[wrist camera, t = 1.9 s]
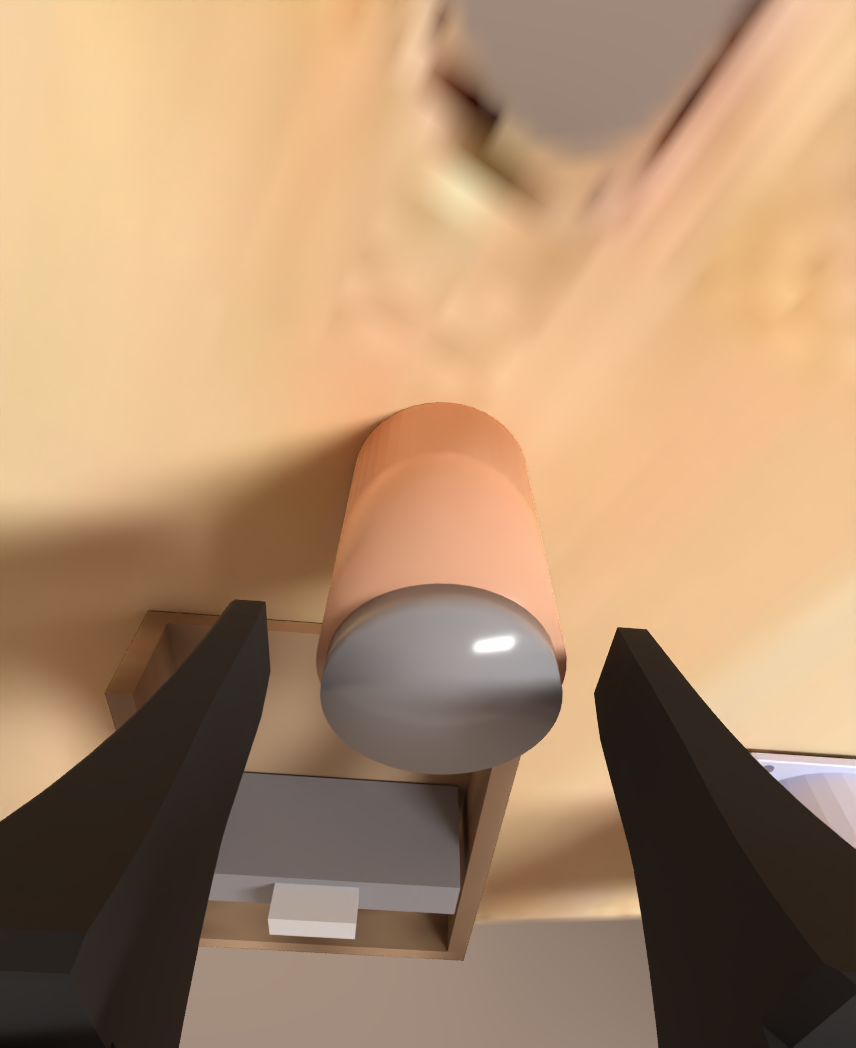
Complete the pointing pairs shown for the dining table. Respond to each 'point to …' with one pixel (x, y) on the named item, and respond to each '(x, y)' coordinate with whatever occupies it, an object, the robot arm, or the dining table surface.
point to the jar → (441, 600)
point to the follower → (338, 851)
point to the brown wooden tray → (317, 751)
